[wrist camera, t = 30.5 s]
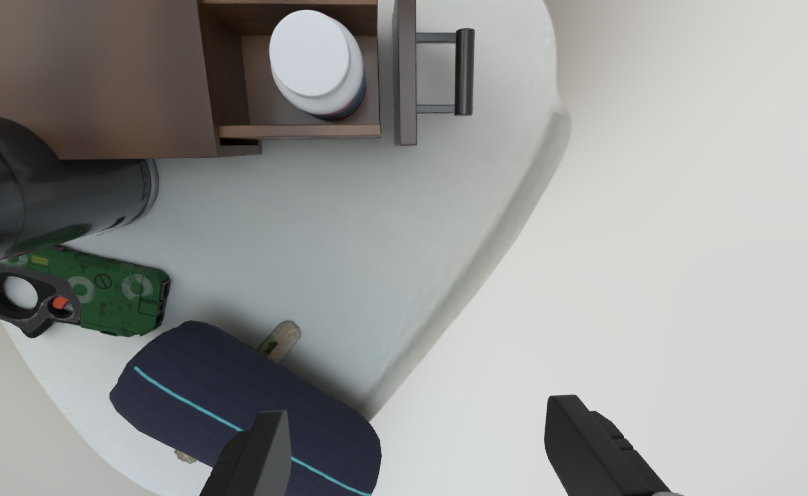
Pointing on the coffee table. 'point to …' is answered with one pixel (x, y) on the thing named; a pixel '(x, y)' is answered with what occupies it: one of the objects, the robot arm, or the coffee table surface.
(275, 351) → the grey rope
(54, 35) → the cabinet
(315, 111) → the pill bottle
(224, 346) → the portable speaker
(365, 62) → the drawer
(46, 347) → the coffee table surface
